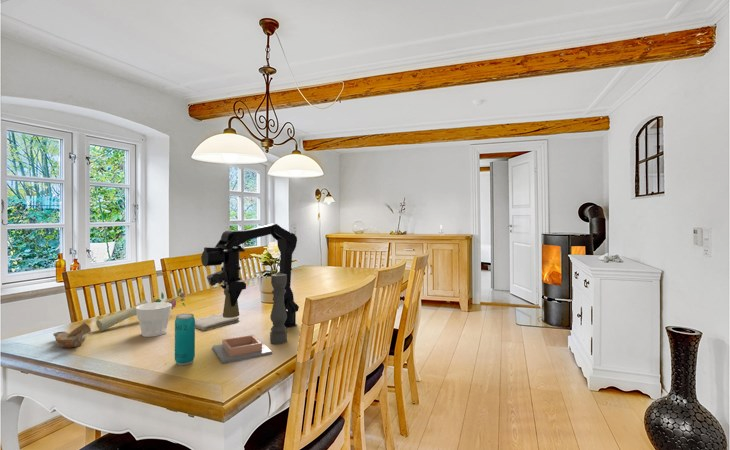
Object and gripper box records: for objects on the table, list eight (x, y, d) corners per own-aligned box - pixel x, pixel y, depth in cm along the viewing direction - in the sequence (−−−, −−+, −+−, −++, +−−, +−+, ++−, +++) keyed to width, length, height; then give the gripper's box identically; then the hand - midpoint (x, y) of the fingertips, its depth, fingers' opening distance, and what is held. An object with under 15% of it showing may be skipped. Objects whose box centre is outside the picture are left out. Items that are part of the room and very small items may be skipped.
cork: (233, 318, 136) (234, 288, 136) (219, 317, 137) (219, 287, 137) (242, 314, 142) (242, 285, 142) (228, 313, 143) (228, 285, 143)
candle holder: (290, 339, 140) (290, 274, 139) (281, 345, 134) (281, 276, 133) (275, 337, 142) (276, 273, 141) (266, 343, 136) (267, 275, 135)
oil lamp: (69, 355, 122) (69, 325, 122) (42, 343, 133) (42, 315, 133) (99, 347, 130) (99, 319, 129) (71, 336, 140) (71, 310, 140)
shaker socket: (257, 340, 139) (257, 331, 139) (272, 353, 125) (272, 344, 125) (212, 348, 130) (212, 338, 130) (222, 363, 116) (222, 353, 116)
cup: (176, 333, 145) (176, 305, 145) (141, 341, 136) (141, 311, 136) (165, 326, 154) (165, 300, 154) (131, 333, 145) (131, 305, 145)
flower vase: (101, 346, 151) (180, 310, 180) (114, 343, 144) (193, 306, 173) (90, 320, 150) (170, 288, 179) (102, 316, 143) (184, 283, 173)
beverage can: (179, 359, 119) (179, 313, 119) (197, 359, 120) (197, 313, 120) (171, 366, 114) (171, 318, 113) (190, 366, 114) (190, 318, 114)
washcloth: (241, 322, 164) (241, 315, 164) (204, 332, 149) (204, 325, 149) (224, 318, 170) (224, 311, 170) (187, 327, 155) (187, 320, 155)
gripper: (203, 262, 143) (203, 302, 143) (214, 268, 127) (213, 313, 128) (233, 261, 149) (233, 299, 149) (246, 266, 133) (246, 309, 134)
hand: (231, 305), depth 140 cm, fingers closed on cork, 4 cm apart
